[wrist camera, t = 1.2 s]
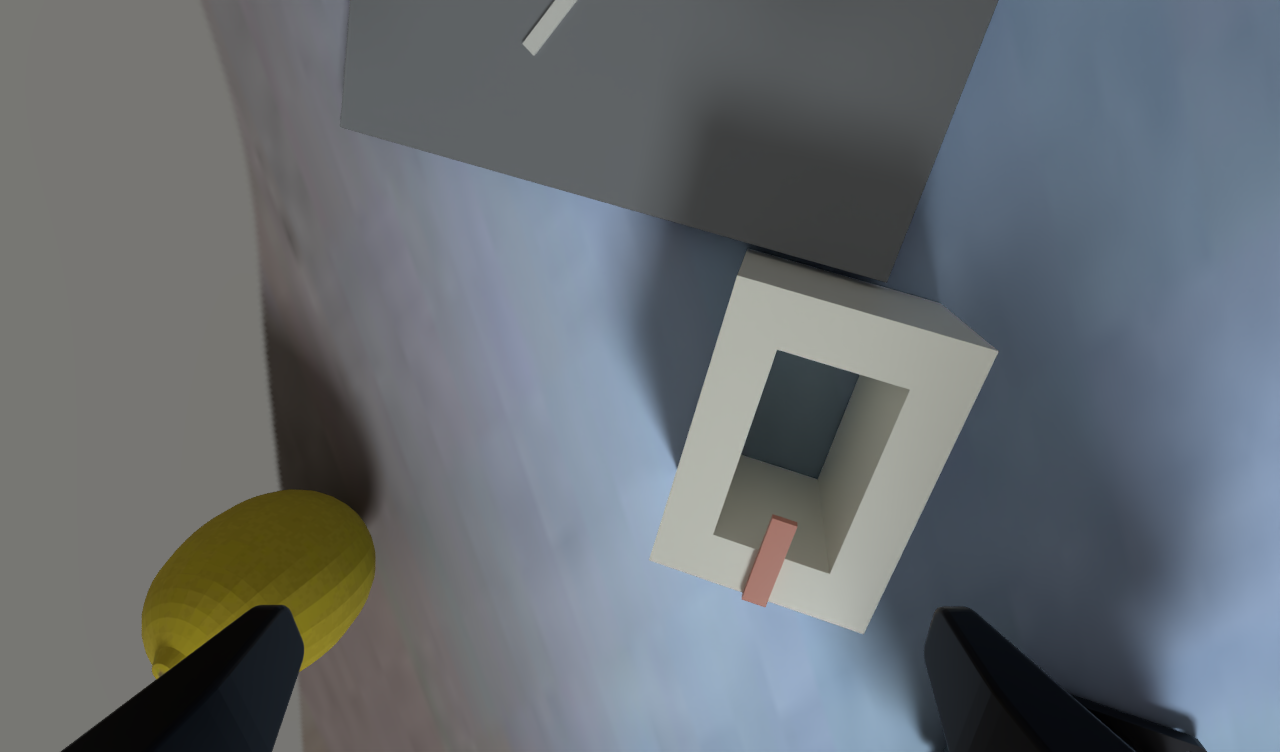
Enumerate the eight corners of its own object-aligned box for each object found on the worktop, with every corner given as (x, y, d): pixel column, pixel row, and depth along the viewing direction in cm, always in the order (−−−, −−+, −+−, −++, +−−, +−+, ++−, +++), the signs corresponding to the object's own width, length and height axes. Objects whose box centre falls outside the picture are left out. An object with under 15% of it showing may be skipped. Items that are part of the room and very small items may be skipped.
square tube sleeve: (940, 303, 18) (1001, 354, 13) (843, 528, 20) (864, 641, 15) (747, 247, 18) (736, 277, 13) (677, 473, 21) (647, 566, 16)
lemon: (359, 605, 25) (185, 786, 18) (260, 504, 25) (39, 647, 17) (446, 536, 24) (292, 706, 16) (341, 424, 23) (131, 547, 16)
